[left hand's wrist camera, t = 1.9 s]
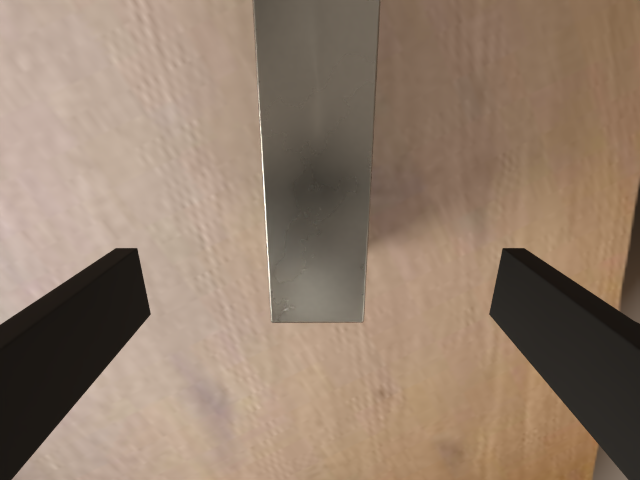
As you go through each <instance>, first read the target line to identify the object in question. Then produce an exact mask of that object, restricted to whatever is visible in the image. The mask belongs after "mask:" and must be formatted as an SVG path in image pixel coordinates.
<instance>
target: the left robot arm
mask: <svg viewBox="0 0 640 480" xmlns="http://www.w3.org/2000/svg"><path fill="white" fill-rule="evenodd" d="M150 314H151V313H150V309H149V304H148V299H147V294H146V289H145V284H144V279H143V274H142V269H141V264H140V260H139V255H138V250H137V248H116V249H114V250H113V251H111V252H110V253H108V254H106V255H105V256H103V257H102V258H100V259H99V260H97V261H96V262H94V263H93V264H91V265H90V266H88V267H87V268H85V269H84V270H82V271H81V272H79V273H78V274H76V275H75V276H73V277H72V278H70V279H69V280H67V281H66V282H64V283H63V284H61V285H60V286H58V287H57V288H55V289H54V290H52V291H51V292H49V293H48V294H46V295H45V296H43V297H42V298H40V299H39V300H37V301H36V302H34V303H32V304H31V305H29V306H28V307H26V308H25V309H23V310H22V311H20V312H19V313H17V314H16V315H14V316H13V317H11V318H10V319H8V320H7V321H5V322H4V323H2V324H1V325H0V480H12V478H13V477H14V476H15V475H16V474H17V473H18V471H19V470H20V469H21V468H22V467H23V465H24V464H25V463H26V462H27V461H28V459H29V458H30V457H31V456H32V455H33V454H34V452H35V451H36V450H37V449H38V448H39V446H40V445H41V444H42V443H43V442H44V440H45V439H46V438H47V437H48V436H49V434H50V433H51V432H52V431H53V430H54V429H55V427H56V426H57V425H58V424H59V423H60V421H61V420H62V419H63V418H64V417H65V415H66V414H67V413H68V412H69V411H70V410H71V408H72V407H73V406H74V405H75V404H76V402H77V401H78V400H79V399H80V398H81V396H82V395H83V394H84V393H85V392H86V391H87V389H88V388H89V387H90V386H91V385H92V383H93V382H94V381H95V380H96V379H97V377H98V376H99V375H100V374H101V373H102V372H103V370H104V369H105V368H106V367H107V366H108V364H109V363H110V362H111V361H112V360H113V358H114V357H115V356H116V355H117V354H118V353H119V351H120V350H121V349H122V348H123V347H124V345H125V344H126V343H127V342H128V341H129V339H130V338H131V337H132V336H133V335H134V334H135V332H136V331H137V330H138V329H139V328H140V326H141V325H142V324H143V323H144V322H145V320H146V319H147V318H148V317H149V316H150ZM489 315H490V316H491V317H492V318H493V319H494V320H495V322H496V323H497V324H498V325H499V326H500V328H501V329H502V330H503V331H504V332H505V334H506V335H507V336H508V337H509V338H510V339H511V341H512V342H513V343H514V344H515V345H516V347H517V348H518V349H519V350H520V351H521V353H522V354H523V355H524V356H525V357H526V358H527V360H528V361H529V362H530V363H531V364H532V366H533V367H534V368H535V369H536V370H537V372H538V373H539V374H540V375H541V376H542V377H543V379H544V380H545V381H546V382H547V383H548V385H549V386H550V387H551V388H552V389H553V391H554V392H555V393H556V394H557V395H558V396H559V398H560V399H561V400H562V401H563V402H564V404H565V405H566V406H567V407H568V408H569V410H570V411H571V412H572V413H573V414H574V415H575V417H576V418H577V419H578V420H579V421H580V423H581V424H582V425H583V426H584V427H585V429H586V430H587V431H588V432H589V433H590V434H591V436H592V437H593V438H594V439H595V440H596V442H597V443H598V444H599V445H600V446H601V448H602V449H603V450H604V451H605V452H606V453H607V455H608V456H609V457H610V458H611V459H612V461H613V462H614V463H615V464H616V465H617V467H618V468H619V469H620V470H621V471H622V473H623V474H624V475H625V476H626V477H627V478H628V480H640V324H639V323H637V322H635V321H633V320H632V319H630V318H629V317H627V316H626V315H624V314H623V313H621V312H620V311H618V310H617V309H615V308H614V307H612V306H611V305H609V304H608V303H606V302H604V301H603V300H601V299H600V298H598V297H597V296H595V295H594V294H592V293H591V292H589V291H588V290H586V289H585V288H583V287H582V286H580V285H579V284H577V283H576V282H574V281H573V280H571V279H570V278H568V277H567V276H565V275H564V274H562V273H561V272H559V271H558V270H556V269H555V268H553V267H552V266H550V265H549V264H547V263H546V262H544V261H543V260H541V259H540V258H538V257H537V256H535V255H534V254H532V253H530V252H529V251H527V250H526V249H524V248H503V250H502V255H501V260H500V264H499V269H498V274H497V279H496V284H495V289H494V294H493V299H492V304H491V309H490V313H489Z"/></svg>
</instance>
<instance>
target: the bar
mask: <svg viewBox="0 0 640 480" xmlns="http://www.w3.org/2000/svg"><path fill="white" fill-rule="evenodd" d="M253 17H254V35H255V52H256V69H257V87H258V104H259V122H260V139H261V156H262V174H263V191H264V209H265V226H266V244H267V261H268V278H269V296H270V313H271V322H272V323H357V322H364V309H365V290H366V271H367V251H368V232H369V213H370V193H371V174H372V154H373V135H374V116H375V96H376V77H377V58H378V38H379V19H380V0H253Z"/></svg>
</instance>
